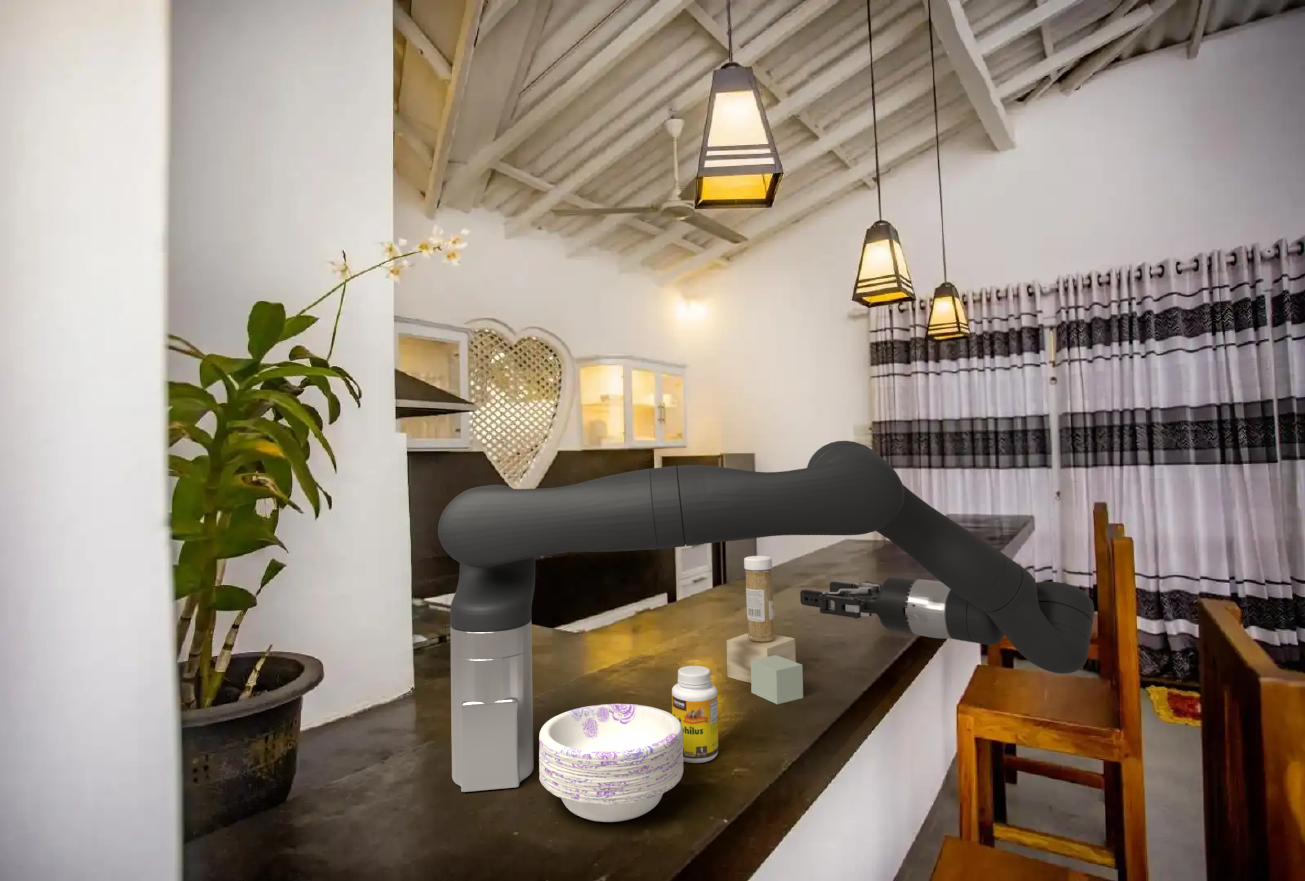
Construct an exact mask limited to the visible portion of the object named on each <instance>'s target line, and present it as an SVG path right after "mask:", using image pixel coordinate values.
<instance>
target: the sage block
mask: <svg viewBox="0 0 1305 881" xmlns="http://www.w3.org/2000/svg"><path fill="white" fill-rule="evenodd" d="M803 675H804V674H803V664H801V663H799V662H797V661H796V662H793V661H791V660H788V659H785V658H783V657H780V656H777V655H774V656H769V657H764V658H759V659H755V660H751V683H750V684H751V690H750V691H751V694H754V695H756V696H758V697H760V698H763V699H765V700H766V701H769V702H771V703H773V704H775V705H780V704H784V703H788V702H793V701H796V700H800V699H803V698H804V682H803V681H804V677H803Z"/></svg>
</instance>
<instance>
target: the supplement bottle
mask: <svg viewBox="0 0 1305 881" xmlns="http://www.w3.org/2000/svg"><path fill="white" fill-rule="evenodd" d="M711 680H712V677H711V669H709V668H708V667H706V666H702V665H686V666H682V667H680V668H679V669H678V670H677V683H676V684H674V685H673V687H672V688H671V714H672V715H673V716H675V717H676V718H677V719H678V720H679V722H680V723H681V725H682V728H683V762H684V763H685V762H686V763H691V764H702V763H707V762H710V761H712V760H714V759H715V758H716V757H717V756H718V753H719V720H718V719H719V712H718V711H719V710H718V706H719V705H718V704H719V703H718V702H719V701H718V700H719V699H718V688H717V687H716V686H715V685H714V684H713V683H712V681H711Z"/></svg>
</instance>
